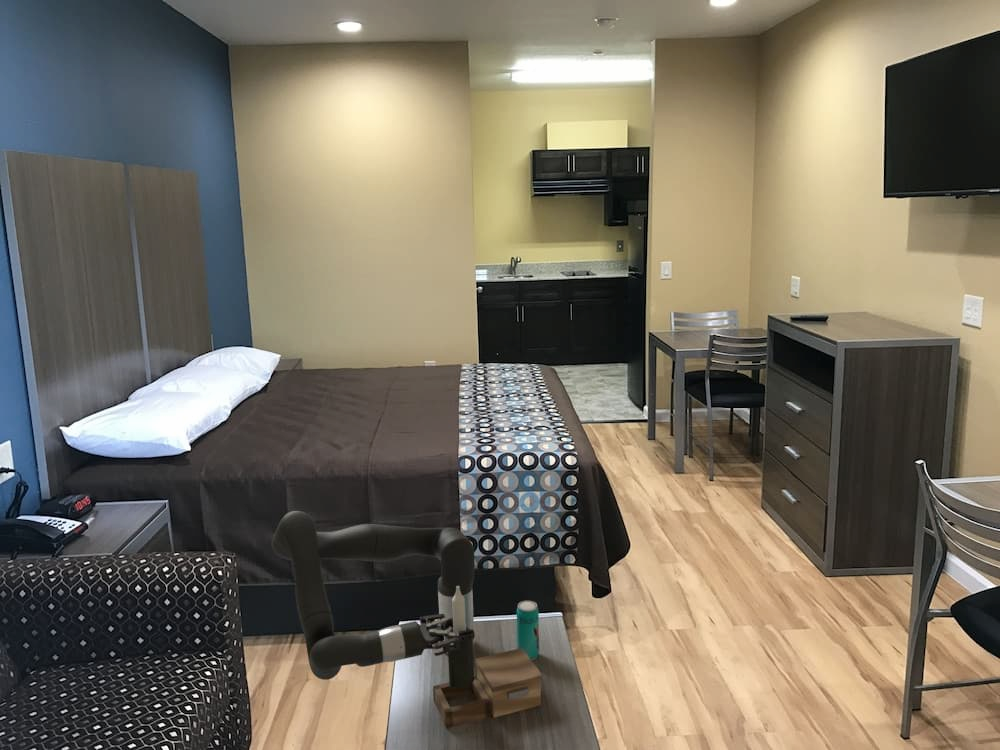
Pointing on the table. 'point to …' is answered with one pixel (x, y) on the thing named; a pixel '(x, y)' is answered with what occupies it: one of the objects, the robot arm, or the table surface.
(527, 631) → the beverage can
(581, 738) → the table surface
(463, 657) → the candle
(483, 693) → the wooden box
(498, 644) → the table surface
